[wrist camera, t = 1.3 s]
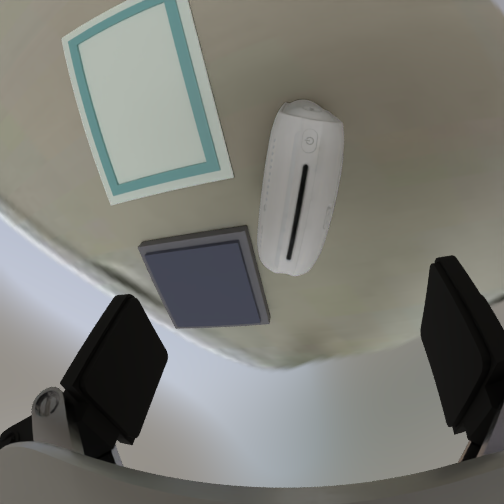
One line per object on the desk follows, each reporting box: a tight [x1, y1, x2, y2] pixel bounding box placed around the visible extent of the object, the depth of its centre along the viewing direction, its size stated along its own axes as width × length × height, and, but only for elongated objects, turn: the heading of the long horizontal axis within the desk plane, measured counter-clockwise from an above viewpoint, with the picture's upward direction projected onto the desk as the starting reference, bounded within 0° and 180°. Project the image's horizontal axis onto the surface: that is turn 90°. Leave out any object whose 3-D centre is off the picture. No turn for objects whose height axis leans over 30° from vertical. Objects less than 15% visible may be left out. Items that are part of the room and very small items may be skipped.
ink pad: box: [138, 226, 270, 329], centre depth 34 cm, size 12×12×2 cm
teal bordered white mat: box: [61, 0, 234, 205], centre depth 24 cm, size 14×20×1 cm
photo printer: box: [257, 100, 344, 276], centre depth 21 cm, size 10×4×12 cm, turn 174°
